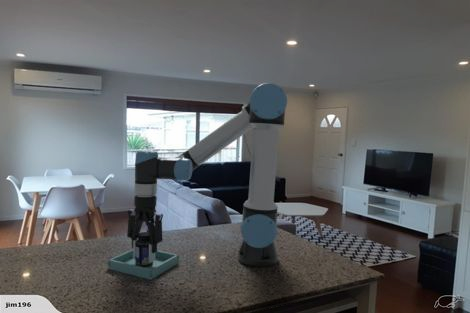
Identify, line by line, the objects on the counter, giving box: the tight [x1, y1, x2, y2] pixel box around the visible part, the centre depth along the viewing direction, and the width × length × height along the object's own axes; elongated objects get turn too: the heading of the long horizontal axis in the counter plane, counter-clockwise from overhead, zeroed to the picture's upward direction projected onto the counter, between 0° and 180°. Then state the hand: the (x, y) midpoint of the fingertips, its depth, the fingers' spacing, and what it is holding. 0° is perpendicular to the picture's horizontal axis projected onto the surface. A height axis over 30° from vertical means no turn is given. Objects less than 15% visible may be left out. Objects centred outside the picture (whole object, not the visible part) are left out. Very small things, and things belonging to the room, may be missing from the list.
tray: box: [107, 249, 180, 281], centre depth 122 cm, size 18×16×3 cm
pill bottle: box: [135, 231, 153, 267], centre depth 122 cm, size 6×6×11 cm
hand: (144, 259), depth 122 cm, fingers closed on pill bottle, 6 cm apart
